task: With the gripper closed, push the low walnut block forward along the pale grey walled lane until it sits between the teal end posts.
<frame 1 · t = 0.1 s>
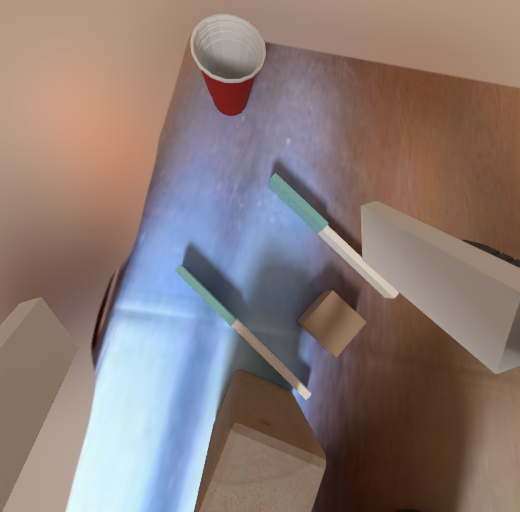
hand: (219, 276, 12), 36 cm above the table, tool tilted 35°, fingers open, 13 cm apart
walnut block: (325, 320, 48), on the table
walled lane: (291, 286, 48), on the table
wooden block: (253, 408, 45), on the table
plastic cup: (232, 102, 52), on the table
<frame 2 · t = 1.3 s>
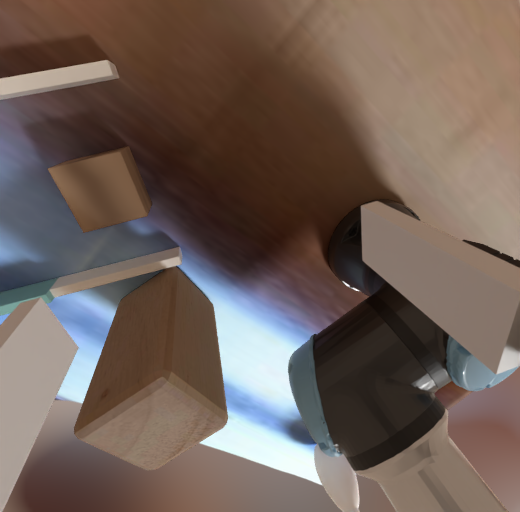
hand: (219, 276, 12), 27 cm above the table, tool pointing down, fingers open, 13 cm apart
walnut block: (112, 183, 34), on the table
walled lane: (41, 199, 33), on the table
wooden block: (169, 300, 43), on the table
sauce bottle: (322, 438, 69), on the table
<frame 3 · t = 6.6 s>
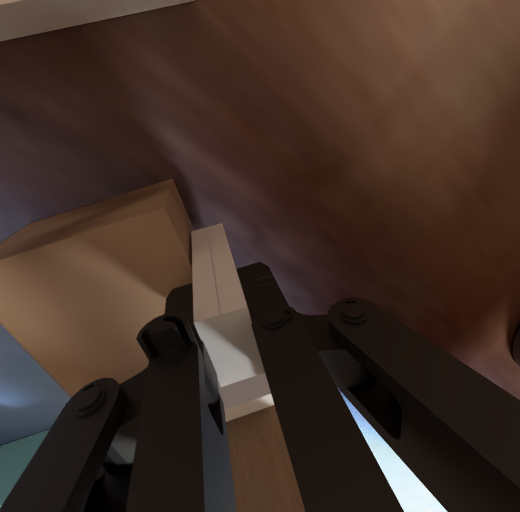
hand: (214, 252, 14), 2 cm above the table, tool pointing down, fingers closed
walnut block: (136, 259, 15), on the table, touching gripper
walled lane: (15, 297, 15), on the table
wooden block: (253, 428, 25), on the table
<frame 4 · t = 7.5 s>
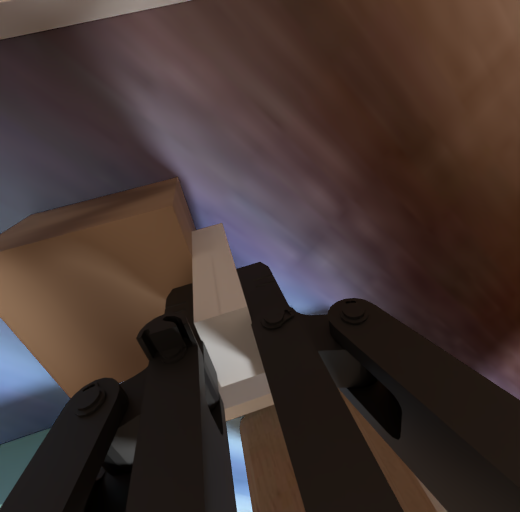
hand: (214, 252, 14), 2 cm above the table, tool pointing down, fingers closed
walnut block: (136, 256, 15), on the table, touching gripper
walled lane: (117, 267, 15), on the table
wooden block: (310, 407, 25), on the table
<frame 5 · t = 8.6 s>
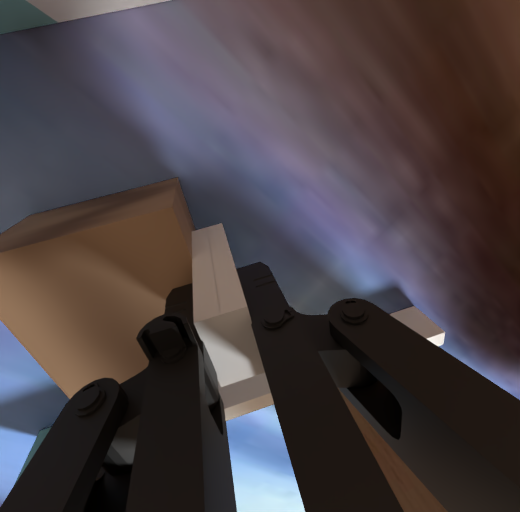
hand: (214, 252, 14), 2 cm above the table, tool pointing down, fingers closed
walnut block: (136, 257, 15), on the table, touching gripper
walled lane: (213, 238, 16), on the table
wooden block: (365, 387, 25), on the table
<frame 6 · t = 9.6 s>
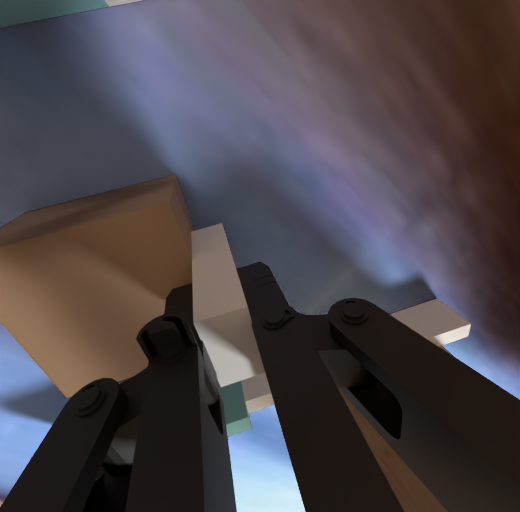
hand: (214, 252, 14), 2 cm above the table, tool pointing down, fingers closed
walnut block: (133, 254, 15), on the table
walled lane: (246, 227, 16), on the table
wooden block: (384, 381, 26), on the table
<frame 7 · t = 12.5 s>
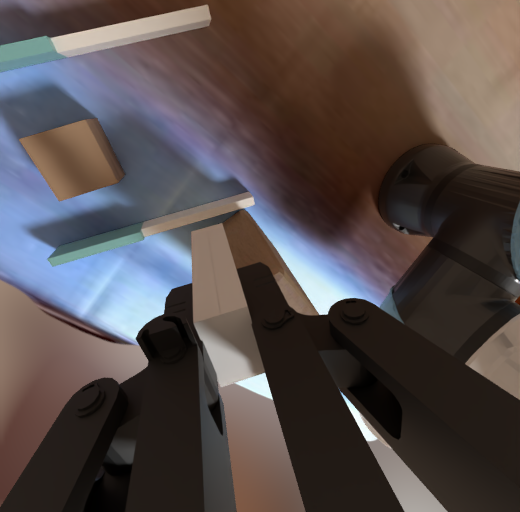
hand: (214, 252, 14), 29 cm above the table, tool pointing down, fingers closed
walnut block: (85, 156, 36), on the table
walled lane: (134, 144, 36), on the table
wooden block: (236, 246, 46), on the table
sauce bottle: (362, 389, 74), on the table
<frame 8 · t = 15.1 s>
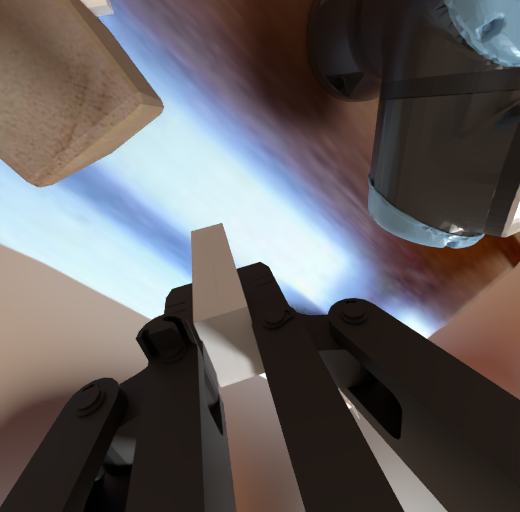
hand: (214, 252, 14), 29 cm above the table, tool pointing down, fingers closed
wooden block: (106, 95, 34), on the table
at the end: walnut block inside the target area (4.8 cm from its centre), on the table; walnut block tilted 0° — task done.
